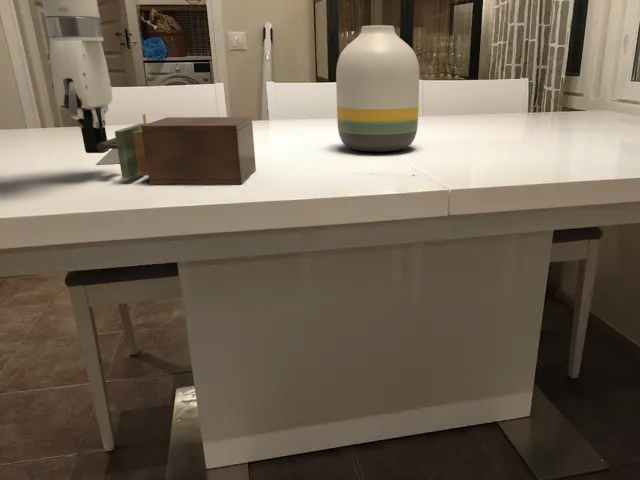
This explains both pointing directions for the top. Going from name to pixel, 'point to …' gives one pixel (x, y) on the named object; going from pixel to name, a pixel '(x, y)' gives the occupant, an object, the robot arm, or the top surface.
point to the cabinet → (199, 150)
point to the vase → (377, 91)
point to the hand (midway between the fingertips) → (97, 152)
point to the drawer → (128, 150)
